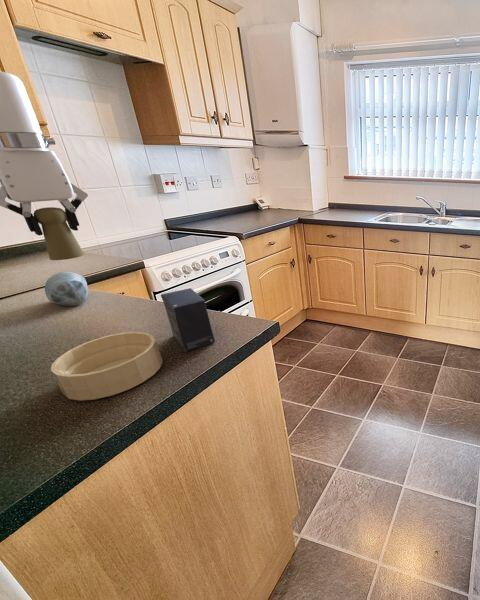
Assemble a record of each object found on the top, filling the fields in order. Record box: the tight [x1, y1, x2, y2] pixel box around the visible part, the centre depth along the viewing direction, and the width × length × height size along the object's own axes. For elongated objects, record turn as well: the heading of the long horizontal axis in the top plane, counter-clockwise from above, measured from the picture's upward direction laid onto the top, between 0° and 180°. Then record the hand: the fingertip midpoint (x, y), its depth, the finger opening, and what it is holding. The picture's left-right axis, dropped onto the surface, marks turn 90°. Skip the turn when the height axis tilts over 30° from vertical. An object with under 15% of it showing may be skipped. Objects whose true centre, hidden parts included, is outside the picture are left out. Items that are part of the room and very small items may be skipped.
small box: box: [160, 287, 216, 353], centre depth 75 cm, size 11×6×10 cm, turn 44°
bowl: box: [50, 331, 163, 401], centre depth 63 cm, size 15×15×6 cm
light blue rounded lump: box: [44, 271, 89, 307], centre depth 95 cm, size 14×10×10 cm
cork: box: [33, 206, 85, 261], centre depth 76 cm, size 6×6×11 cm
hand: (57, 231), depth 76 cm, fingers closed on cork, 5 cm apart
